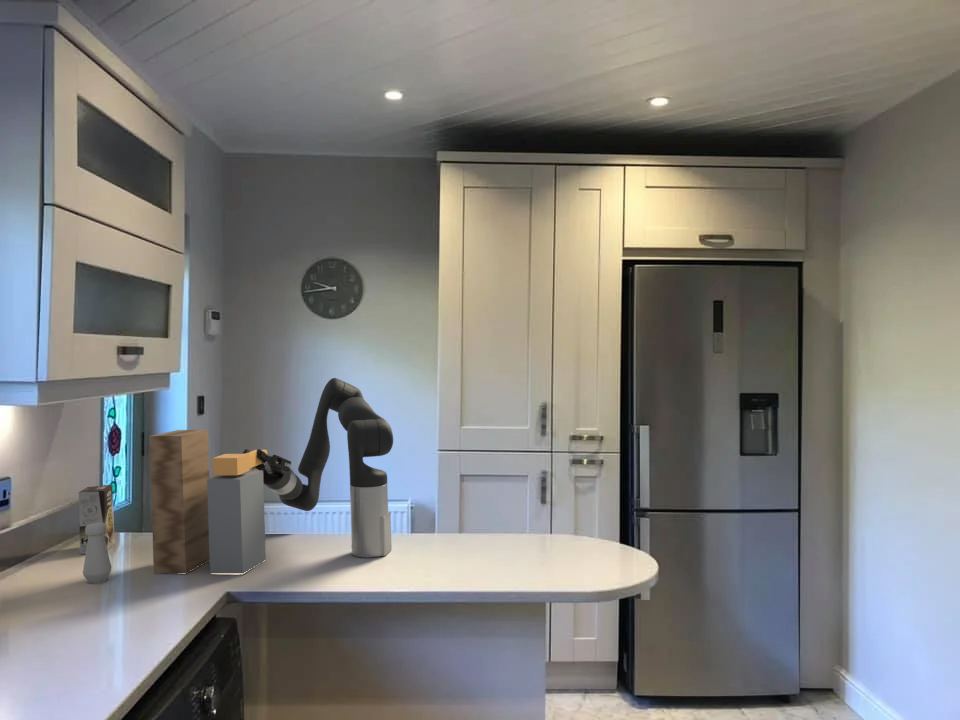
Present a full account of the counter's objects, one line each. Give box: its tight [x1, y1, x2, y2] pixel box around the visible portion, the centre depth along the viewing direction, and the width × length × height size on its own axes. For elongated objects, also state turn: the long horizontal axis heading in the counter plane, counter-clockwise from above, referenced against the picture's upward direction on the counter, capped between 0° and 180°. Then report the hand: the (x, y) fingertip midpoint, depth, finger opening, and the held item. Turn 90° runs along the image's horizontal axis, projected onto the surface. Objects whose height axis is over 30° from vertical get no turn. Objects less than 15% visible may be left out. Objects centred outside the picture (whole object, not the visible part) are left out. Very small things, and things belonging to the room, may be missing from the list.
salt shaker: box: [82, 523, 112, 584], centre depth 168 cm, size 6×6×13 cm
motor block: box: [207, 469, 267, 574], centre depth 175 cm, size 8×12×22 cm, turn 171°
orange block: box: [212, 449, 268, 476], centre depth 180 cm, size 6×19×4 cm, turn 171°
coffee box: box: [78, 484, 115, 555], centre depth 195 cm, size 9×6×16 cm
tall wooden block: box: [148, 429, 211, 574], centre depth 177 cm, size 8×12×32 cm, turn 171°
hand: (251, 452), depth 184 cm, fingers closed on orange block, 2 cm apart
